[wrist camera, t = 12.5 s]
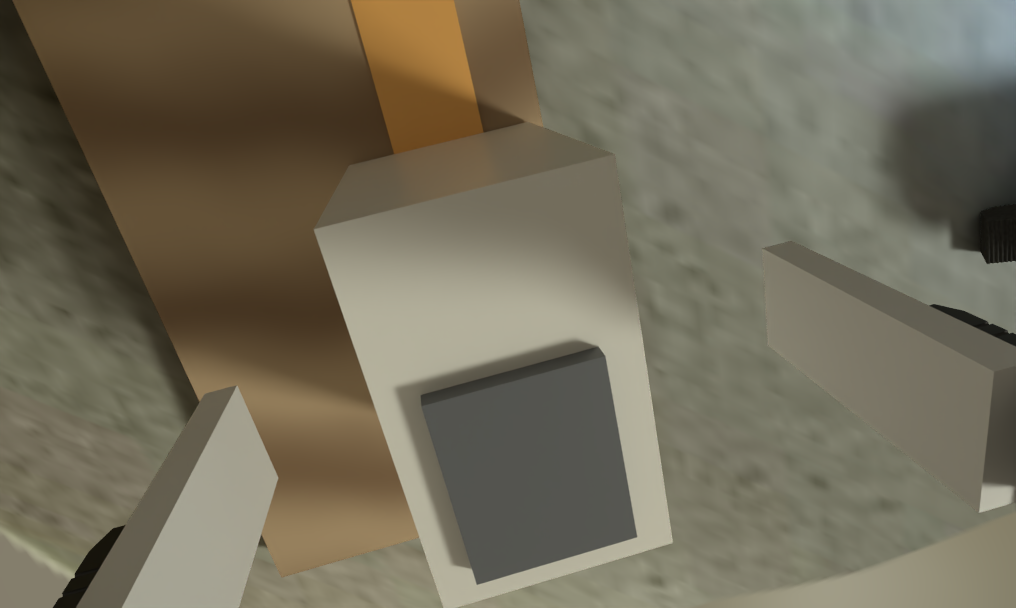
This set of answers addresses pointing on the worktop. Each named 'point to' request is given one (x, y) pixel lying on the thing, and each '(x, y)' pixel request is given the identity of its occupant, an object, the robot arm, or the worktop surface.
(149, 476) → the worktop surface
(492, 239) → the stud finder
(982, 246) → the gun
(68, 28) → the subfloor panel
